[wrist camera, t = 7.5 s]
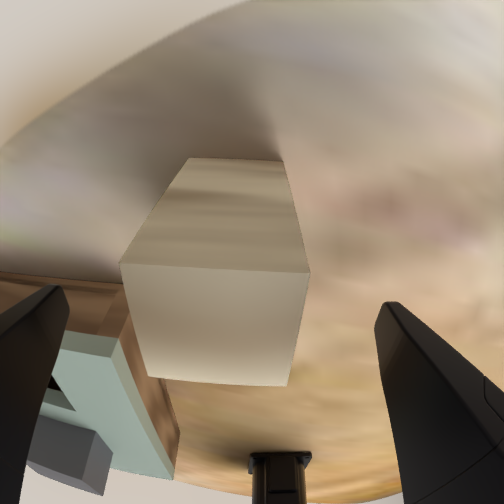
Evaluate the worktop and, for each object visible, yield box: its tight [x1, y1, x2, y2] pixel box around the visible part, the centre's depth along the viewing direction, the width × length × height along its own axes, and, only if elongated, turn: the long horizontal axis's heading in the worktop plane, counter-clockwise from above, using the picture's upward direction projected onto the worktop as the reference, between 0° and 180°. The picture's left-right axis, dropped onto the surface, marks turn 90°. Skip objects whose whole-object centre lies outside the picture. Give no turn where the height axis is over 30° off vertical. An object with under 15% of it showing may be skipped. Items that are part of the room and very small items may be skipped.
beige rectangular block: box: [119, 158, 310, 386], centre depth 11 cm, size 4×4×8 cm
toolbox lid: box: [26, 330, 175, 496], centre depth 16 cm, size 18×14×5 cm
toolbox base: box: [0, 272, 180, 468], centre depth 20 cm, size 18×14×4 cm
